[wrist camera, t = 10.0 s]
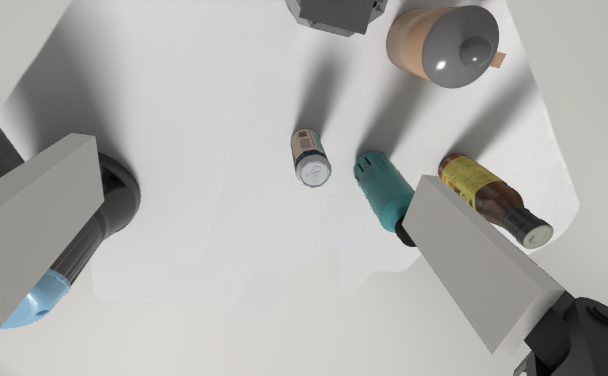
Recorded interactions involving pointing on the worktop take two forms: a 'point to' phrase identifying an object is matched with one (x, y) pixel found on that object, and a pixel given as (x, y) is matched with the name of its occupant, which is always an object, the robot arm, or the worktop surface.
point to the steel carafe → (337, 14)
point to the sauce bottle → (494, 200)
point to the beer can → (309, 158)
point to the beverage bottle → (385, 192)
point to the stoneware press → (445, 44)
